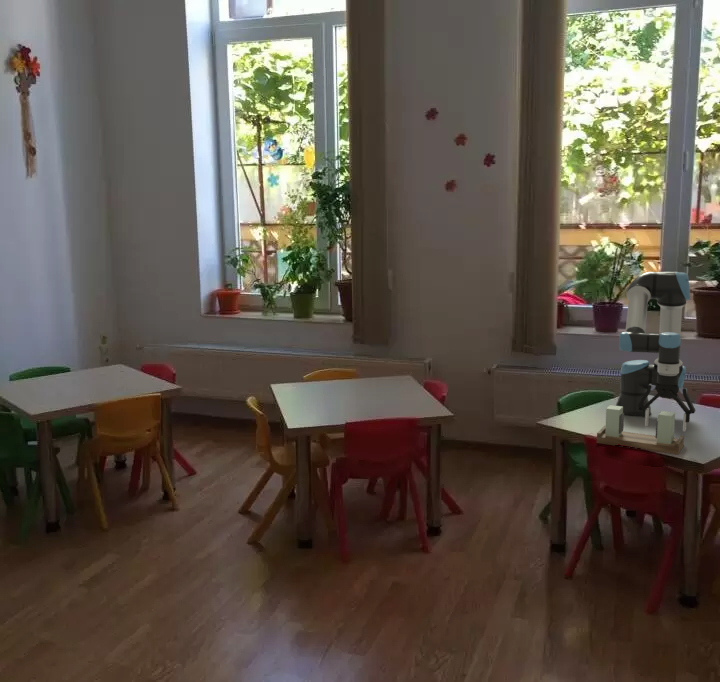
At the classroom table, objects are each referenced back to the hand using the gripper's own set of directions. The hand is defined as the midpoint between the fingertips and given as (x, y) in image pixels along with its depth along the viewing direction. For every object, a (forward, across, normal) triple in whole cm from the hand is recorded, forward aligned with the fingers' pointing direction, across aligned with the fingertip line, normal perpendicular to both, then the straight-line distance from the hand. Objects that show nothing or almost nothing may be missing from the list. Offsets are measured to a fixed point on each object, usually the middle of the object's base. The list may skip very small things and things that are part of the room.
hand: (665, 428), depth 288 cm
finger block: (+5, 0, 0) cm, 5 cm away
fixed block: (+5, -19, 0) cm, 20 cm away
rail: (+8, -9, 0) cm, 12 cm away
